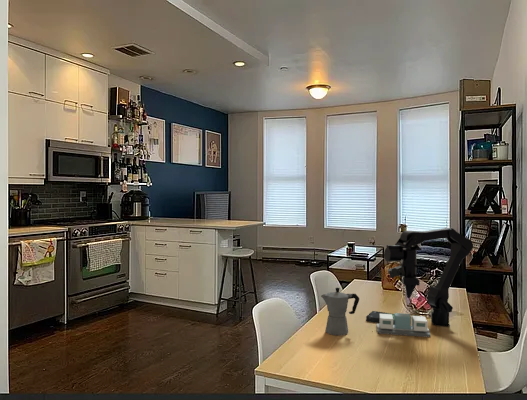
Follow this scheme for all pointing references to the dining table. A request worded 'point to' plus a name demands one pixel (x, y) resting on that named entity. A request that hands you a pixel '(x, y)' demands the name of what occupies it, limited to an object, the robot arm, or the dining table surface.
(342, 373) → the dining table surface
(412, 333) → the din board
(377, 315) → the disk drive
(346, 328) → the coffeepot
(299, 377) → the dining table surface
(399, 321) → the block
